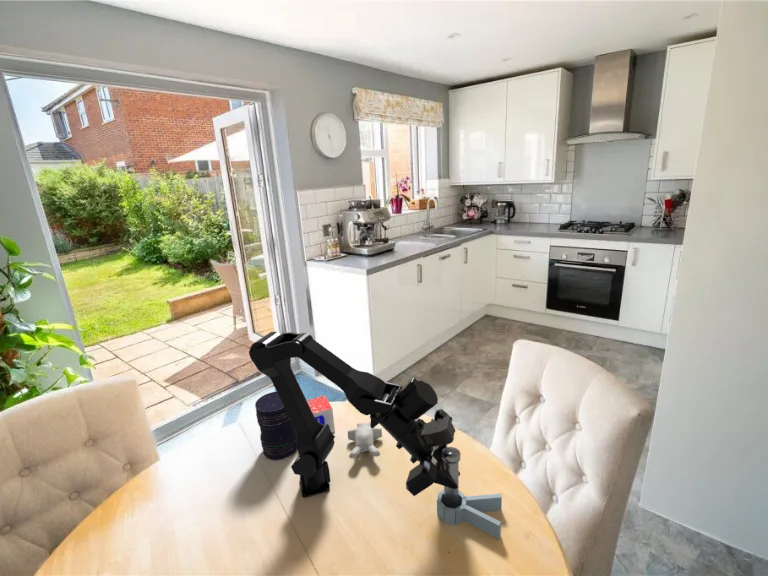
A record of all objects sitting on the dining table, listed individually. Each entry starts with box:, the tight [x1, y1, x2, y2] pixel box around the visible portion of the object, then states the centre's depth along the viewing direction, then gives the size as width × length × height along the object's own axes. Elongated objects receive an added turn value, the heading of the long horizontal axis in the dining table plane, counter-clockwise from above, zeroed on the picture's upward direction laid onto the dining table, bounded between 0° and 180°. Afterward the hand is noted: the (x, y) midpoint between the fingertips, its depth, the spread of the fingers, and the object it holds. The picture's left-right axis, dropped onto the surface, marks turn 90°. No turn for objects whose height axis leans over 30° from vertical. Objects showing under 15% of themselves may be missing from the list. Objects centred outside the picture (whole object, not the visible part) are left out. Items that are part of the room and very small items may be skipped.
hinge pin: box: [442, 446, 461, 509], centre depth 81 cm, size 4×4×14 cm
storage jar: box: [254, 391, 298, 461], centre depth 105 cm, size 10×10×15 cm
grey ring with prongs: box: [436, 489, 503, 541], centre depth 81 cm, size 13×8×4 cm, turn 72°
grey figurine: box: [347, 421, 383, 459], centre depth 105 cm, size 10×5×15 cm
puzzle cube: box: [306, 395, 336, 433], centre depth 113 cm, size 8×8×8 cm
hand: (457, 481), depth 80 cm, fingers open, 3 cm apart
